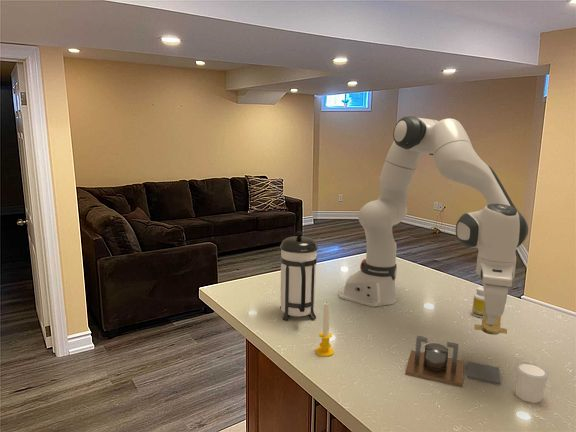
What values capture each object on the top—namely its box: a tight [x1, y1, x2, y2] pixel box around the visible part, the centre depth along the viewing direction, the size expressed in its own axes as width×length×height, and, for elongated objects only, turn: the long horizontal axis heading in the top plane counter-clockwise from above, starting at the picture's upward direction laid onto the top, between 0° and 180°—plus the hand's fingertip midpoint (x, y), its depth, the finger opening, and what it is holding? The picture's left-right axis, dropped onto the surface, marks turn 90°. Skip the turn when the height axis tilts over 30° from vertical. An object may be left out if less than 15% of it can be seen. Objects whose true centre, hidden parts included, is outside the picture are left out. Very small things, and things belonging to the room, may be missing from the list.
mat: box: [466, 360, 501, 386], centre depth 113 cm, size 8×8×1 cm
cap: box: [474, 308, 508, 336], centre depth 110 cm, size 8×4×6 cm, turn 72°
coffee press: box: [279, 230, 319, 322], centre depth 144 cm, size 17×16×30 cm
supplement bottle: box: [471, 286, 485, 319], centre depth 149 cm, size 5×5×10 cm
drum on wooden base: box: [405, 335, 464, 388], centre depth 114 cm, size 14×12×8 cm
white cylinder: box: [515, 362, 549, 404], centre depth 103 cm, size 7×7×7 cm
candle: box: [315, 301, 335, 358], centre depth 121 cm, size 5×5×16 cm
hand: (489, 319), depth 110 cm, fingers closed on cap, 4 cm apart
